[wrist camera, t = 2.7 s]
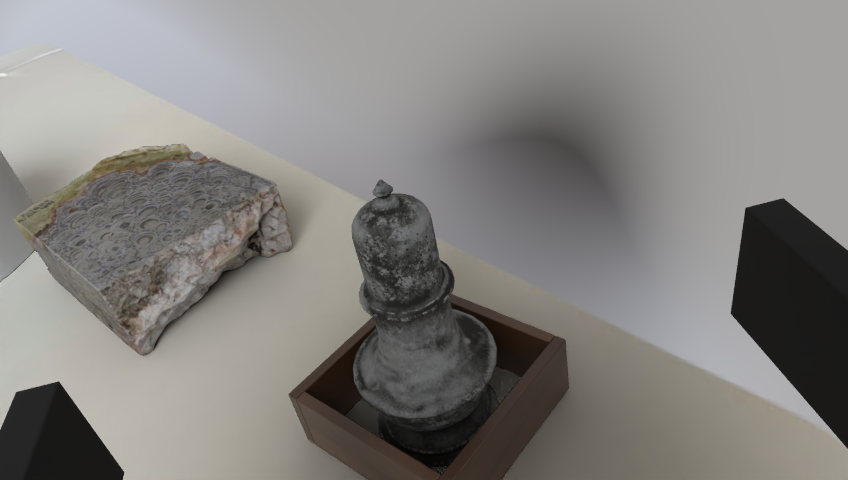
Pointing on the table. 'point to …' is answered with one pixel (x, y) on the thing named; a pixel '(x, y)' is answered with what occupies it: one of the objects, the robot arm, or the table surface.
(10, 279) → the table surface
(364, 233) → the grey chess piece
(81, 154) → the table surface
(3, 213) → the lumpy-topped squat cylinder
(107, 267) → the geological specimen
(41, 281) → the table surface
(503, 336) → the shaker holder
